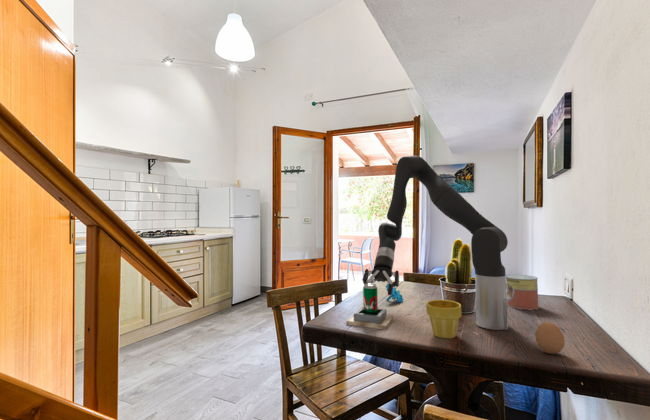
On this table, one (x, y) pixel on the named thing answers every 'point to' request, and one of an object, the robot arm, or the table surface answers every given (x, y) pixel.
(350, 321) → the board
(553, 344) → the egg
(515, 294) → the canned food
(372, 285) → the soda can
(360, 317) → the collar
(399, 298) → the blue knobbly figurine
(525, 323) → the table surface
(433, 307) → the plant pot
